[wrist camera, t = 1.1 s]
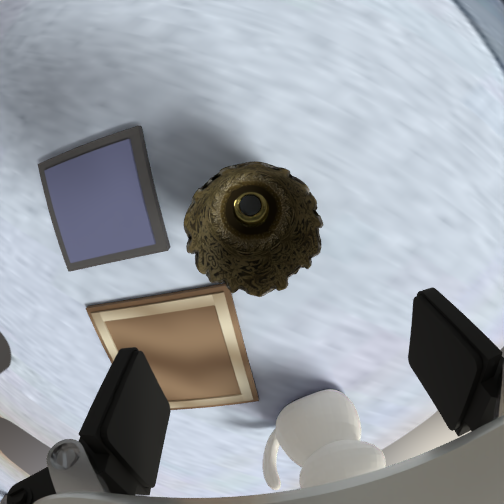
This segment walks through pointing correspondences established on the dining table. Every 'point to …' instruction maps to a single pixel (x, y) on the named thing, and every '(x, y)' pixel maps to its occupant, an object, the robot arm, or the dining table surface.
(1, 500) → the decorative stone
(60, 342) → the dining table surface
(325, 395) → the cat figurine
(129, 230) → the ink pad
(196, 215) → the cup
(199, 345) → the marked board
